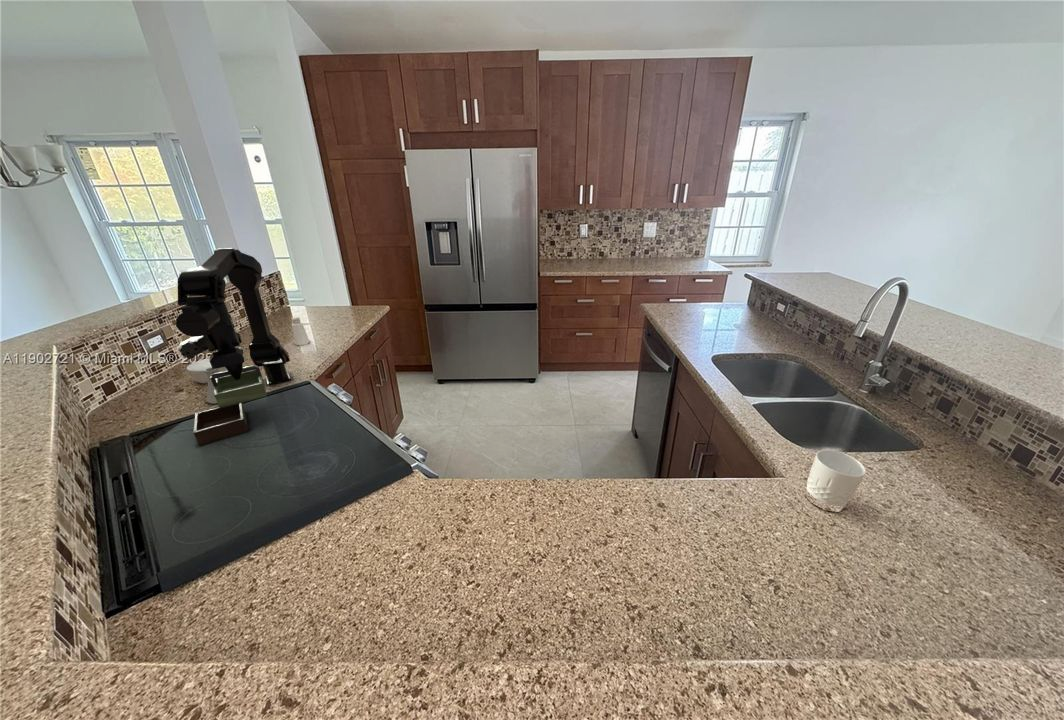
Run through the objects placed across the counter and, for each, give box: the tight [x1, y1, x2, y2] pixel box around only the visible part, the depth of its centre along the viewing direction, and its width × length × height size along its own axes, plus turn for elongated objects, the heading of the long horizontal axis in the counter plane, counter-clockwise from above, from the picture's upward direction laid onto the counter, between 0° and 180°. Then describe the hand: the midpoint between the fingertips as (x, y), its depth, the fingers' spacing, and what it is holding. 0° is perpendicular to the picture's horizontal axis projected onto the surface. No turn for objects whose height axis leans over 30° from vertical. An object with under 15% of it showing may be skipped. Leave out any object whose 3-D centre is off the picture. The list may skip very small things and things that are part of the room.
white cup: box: [805, 449, 867, 506], centre depth 74 cm, size 8×8×10 cm
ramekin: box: [186, 357, 228, 384], centre depth 124 cm, size 11×11×5 cm
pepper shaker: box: [291, 316, 310, 346], centre depth 151 cm, size 5×5×11 cm
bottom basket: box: [193, 403, 249, 447], centre depth 98 cm, size 11×10×4 cm
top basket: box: [210, 364, 268, 408], centre depth 98 cm, size 11×10×7 cm
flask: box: [204, 367, 219, 405], centre depth 111 cm, size 7×7×10 cm
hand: (237, 378), depth 97 cm, fingers closed on top basket
